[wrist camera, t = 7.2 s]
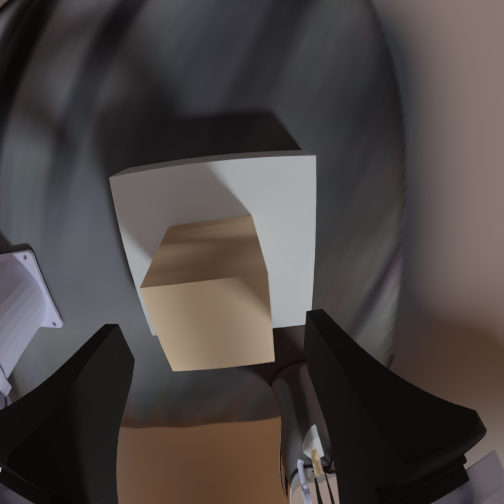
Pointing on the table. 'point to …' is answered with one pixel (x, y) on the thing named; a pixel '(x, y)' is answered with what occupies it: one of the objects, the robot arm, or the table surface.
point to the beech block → (211, 295)
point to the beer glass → (303, 440)
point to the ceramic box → (228, 215)
